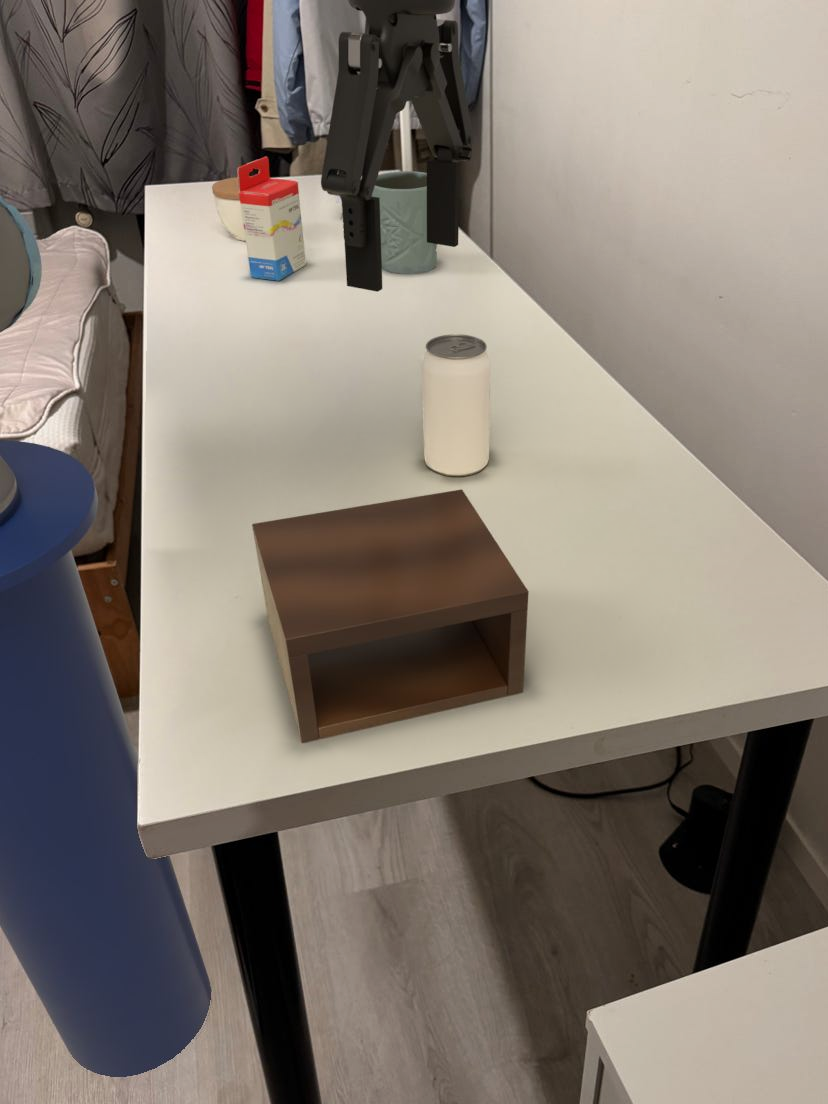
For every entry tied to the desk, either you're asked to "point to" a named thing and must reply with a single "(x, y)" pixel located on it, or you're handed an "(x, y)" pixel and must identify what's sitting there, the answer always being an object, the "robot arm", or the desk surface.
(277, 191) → the ink box
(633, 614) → the desk surface
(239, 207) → the trinket box
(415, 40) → the robot arm
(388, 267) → the green embossed cup
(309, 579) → the shelf
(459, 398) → the can
